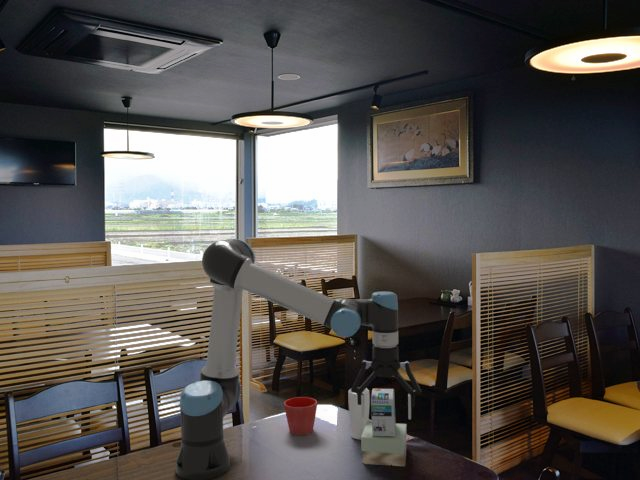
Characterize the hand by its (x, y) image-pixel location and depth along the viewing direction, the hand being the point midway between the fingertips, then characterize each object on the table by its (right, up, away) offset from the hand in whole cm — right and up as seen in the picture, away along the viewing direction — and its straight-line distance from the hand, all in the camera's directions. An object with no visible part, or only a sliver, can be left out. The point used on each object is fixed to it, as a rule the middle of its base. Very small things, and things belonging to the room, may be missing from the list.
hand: (386, 416), depth 161 cm
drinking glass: (-7, -11, +15) cm, 20 cm away
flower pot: (-26, -11, +20) cm, 35 cm away
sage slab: (0, -8, 0) cm, 8 cm away
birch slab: (0, -12, +1) cm, 12 cm away
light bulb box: (-1, -4, 0) cm, 4 cm away
